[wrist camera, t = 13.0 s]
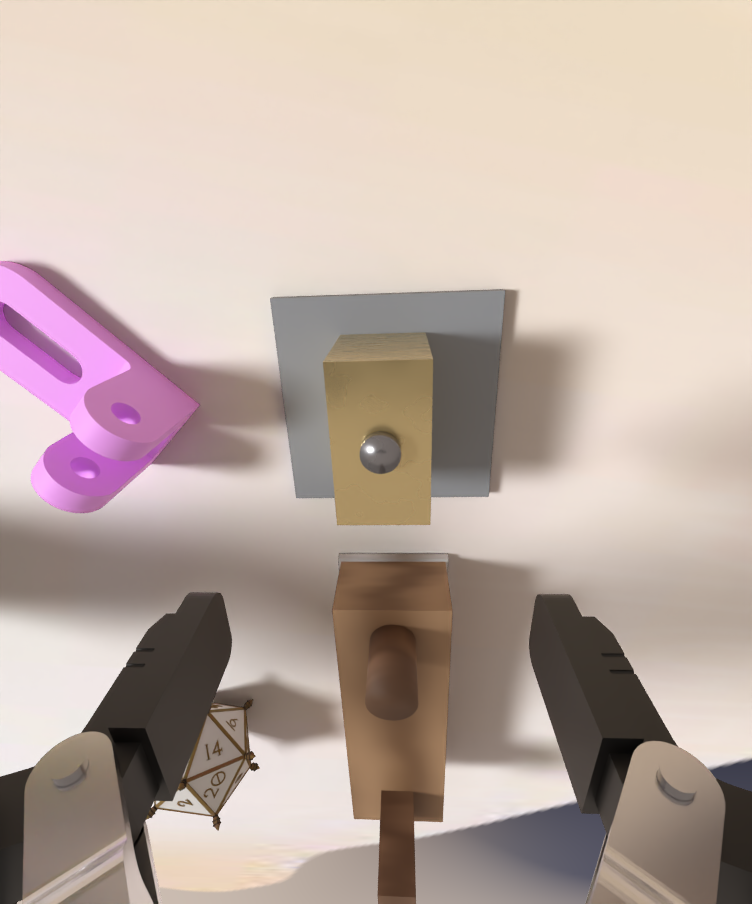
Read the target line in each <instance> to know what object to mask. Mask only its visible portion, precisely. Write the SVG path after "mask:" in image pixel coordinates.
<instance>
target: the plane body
mask: <svg viewBox="0 0 752 904" xmlns="http://www.w3.org/2000/svg"><path fill="white" fill-rule="evenodd" d="M338 565H339V576H338V581H337V587H336V592H335V598H334V603H333V608H332V613H333V622H334V632H335V642H336V651H337V661H338V670H339V680H340V689H341V699H342V709H343V718H344V728H345V737H346V747H347V756H348V766H349V776H350V785H351V795H352V804H353V814H354V819H372V820H380V843H379V875H378V904H416V888H415V848H414V821H428V822H443V803H444V781H445V760H446V738H447V717H448V696H449V674H450V653H451V631H452V604H451V597H450V590H449V583H448V554H339V556H338Z"/></svg>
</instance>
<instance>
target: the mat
mask: <svg viewBox="0 0 752 904" xmlns="http://www.w3.org/2000/svg"><path fill="white" fill-rule="evenodd" d="M504 299H505V290H503V289H500V290H471V291H442V292H413V293H384V294H355V295H326V296H297V297H273V298H270V302H271V309H272V317H273V325H274V332H275V340H276V348H277V355H278V363H279V370H280V378H281V386H282V393H283V401H284V408H285V416H286V424H287V431H288V439H289V447H290V454H291V462H292V469H293V477H294V485H295V492H296V498H335V494H334V483H333V471H332V460H331V449H330V438H329V426H328V415H327V404H326V392H325V381H324V370H323V361H324V359H325V358H326V356H327V355H328V353H329V352H330V350H331V349H332V347H333V345H334V344H335V342H336V341H337V339H338V338H339V336H340V335H350V334H384V333H419V332H425V333H426V336H427V340H428V343H429V347H430V350H431V354H432V357H433V396H432V455H431V497H489V485H490V473H491V460H492V448H493V435H494V423H495V411H496V398H497V386H498V373H499V361H500V349H501V336H502V324H503V311H504Z"/></svg>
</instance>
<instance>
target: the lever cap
mask: <svg viewBox="0 0 752 904" xmlns="http://www.w3.org/2000/svg"><path fill="white" fill-rule="evenodd" d="M323 370H324V381H325V392H326V404H327V415H328V426H329V438H330V449H331V460H332V471H333V483H334V494H335V505H336V517H337V525H430V513H431V455H432V396H433V357H432V354H431V350H430V347H429V343H428V340H427V336H426V333H425V332H419V333H384V334H350V335H340V336H339V338H338V339H337V341H336V342H335V344H334V345H333V347H332V349H331V350H330V352H329V353H328V355H327V356H326V358H325V359H324V361H323Z"/></svg>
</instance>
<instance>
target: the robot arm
mask: <svg viewBox="0 0 752 904" xmlns="http://www.w3.org/2000/svg"><path fill="white" fill-rule="evenodd" d="M231 647H232V637H231V632H230V627H229V623H228V618H227V614H226V609H225V605H224V600H223V597H222V595H221V593H198V592H191V593H189V594H188V595H187V596H186V597H185V599H184V600H183V602H182V604H181V605H180V607H179V609H178V610H177V612H176V614H165V615H164V616H163V617H162V618H161V619H160V620H159V621H157V622H156V623H155V624H154V625H153V626H152V627H151V628H149V629H148V631H147V632H146V634H145V635H144V637H143V638H142V640H141V641H140V643H139V645H138V646H137V648H136V652H133V654H132V655H131V657H130V659H129V660H128V662H127V663H126V667H125V668H123V669H122V671H121V673H120V674H119V676H118V677H117V679H116V680H115V682H114V683H113V685H112V687H111V688H110V690H109V691H108V693H107V694H106V696H105V697H104V699H103V701H102V702H101V704H100V705H99V707H98V708H97V710H96V711H95V713H94V714H93V716H92V718H91V719H90V721H89V722H88V724H87V725H86V727H85V728H84V730H83V731H82V732H81V733H80V734H76V735H74V736H72V737H69V738H67V739H66V740H64V741H62V742H60V743H59V744H57V745H56V746H55V747H53V748H52V749H51V750H50V751H49V752H47V753H46V754H45V755H44V756H43V757H42V758H41V759H40V761H39V762H38V763H37V764H36V766H34V767H31V768H29V769H25V770H22V771H18V772H15V773H12V774H8V775H5V776H2V777H0V904H17V902H18V901H21V900H22V904H162V900H161V895H160V890H159V885H158V879H157V874H156V869H155V864H154V859H153V854H152V849H151V844H150V839H149V834H148V829H147V825H146V822H145V820H146V818H147V815H148V813H149V811H150V808H151V806H152V804H153V802H154V801H173V799H174V797H175V794H176V792H177V789H178V787H179V784H180V782H181V779H182V777H183V774H184V772H185V769H186V767H187V764H188V762H189V759H190V757H191V754H192V752H193V749H194V747H195V744H196V742H197V739H198V737H199V734H200V732H201V729H202V727H203V724H204V722H205V719H206V717H207V714H208V712H209V709H210V707H211V704H212V702H213V699H214V697H215V694H216V692H217V689H218V687H219V684H220V682H221V679H222V677H223V674H224V672H225V669H226V667H227V664H228V661H229V658H230V654H231ZM529 650H530V658H531V662H532V666H533V669H534V672H535V675H536V678H537V681H538V684H539V687H540V690H541V693H542V696H543V699H544V702H545V705H546V708H547V711H548V714H549V717H550V720H551V723H552V726H553V730H554V733H555V736H556V739H557V742H558V745H559V748H560V751H561V754H562V757H563V760H564V763H565V766H566V769H567V772H568V775H569V778H570V781H571V784H572V787H573V790H574V793H575V796H576V799H577V802H578V804H579V808H580V811H581V813H587V814H600V816H601V819H602V822H603V825H604V828H605V830H606V836H605V839H604V842H603V845H602V849H601V853H600V856H599V859H598V863H597V866H596V869H595V873H594V876H593V880H592V883H591V886H590V890H589V894H588V897H587V900H586V903H585V904H752V792H751V791H748V790H744V789H742V788H739V787H736V786H733V785H730V784H727V783H725V782H722V781H720V780H718V779H716V778H715V777H714V776H713V775H712V773H711V772H710V771H709V770H708V769H707V768H706V766H705V765H704V764H702V763H701V762H700V761H699V760H698V759H697V758H695V757H694V756H693V755H691V754H690V753H688V752H687V751H685V750H683V749H682V748H679V747H678V746H677V745H676V743H675V741H674V740H673V738H672V737H671V735H670V733H669V731H668V730H667V728H666V726H665V724H664V723H663V721H662V719H661V717H660V716H659V714H658V712H657V710H656V709H655V707H654V705H653V703H652V701H651V700H650V698H649V696H648V694H647V693H646V691H645V689H644V687H643V686H642V684H641V682H640V680H639V679H638V677H637V675H636V674H634V670H633V668H632V666H631V665H630V663H629V661H628V659H627V658H626V657H625V656H624V652H623V650H622V649H621V647H620V645H619V643H618V642H617V640H616V638H615V636H614V635H613V633H612V632H611V631H609V630H608V629H607V628H606V627H605V626H604V625H603V624H602V623H601V622H600V621H599V620H598V619H596V618H595V617H582V616H581V614H580V612H579V610H578V608H577V606H576V604H575V602H574V600H573V598H572V597H571V596H570V595H568V594H539V595H537V597H536V600H535V606H534V612H533V619H532V625H531V631H530V638H529Z"/></svg>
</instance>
